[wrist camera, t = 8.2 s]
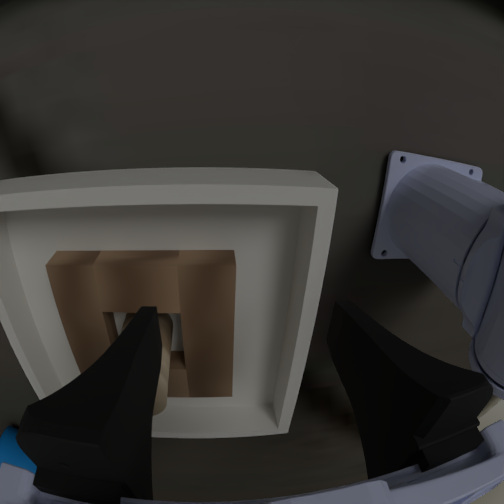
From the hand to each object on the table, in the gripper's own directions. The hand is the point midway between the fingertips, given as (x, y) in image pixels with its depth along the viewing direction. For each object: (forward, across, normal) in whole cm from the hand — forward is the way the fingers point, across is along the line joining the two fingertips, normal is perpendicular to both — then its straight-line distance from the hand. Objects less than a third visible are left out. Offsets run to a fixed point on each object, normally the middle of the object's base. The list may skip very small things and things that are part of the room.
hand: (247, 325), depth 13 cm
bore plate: (+9, +6, +7) cm, 13 cm away
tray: (+9, +6, +7) cm, 13 cm away
